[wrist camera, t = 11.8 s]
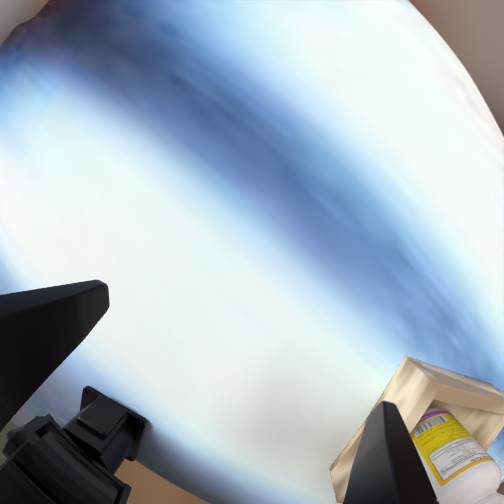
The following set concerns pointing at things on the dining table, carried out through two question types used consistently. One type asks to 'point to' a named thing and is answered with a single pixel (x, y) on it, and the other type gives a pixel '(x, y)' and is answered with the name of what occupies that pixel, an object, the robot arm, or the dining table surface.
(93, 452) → the robot arm
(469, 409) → the birch box
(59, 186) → the dining table surface
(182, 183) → the dining table surface
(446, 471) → the supplement bottle
